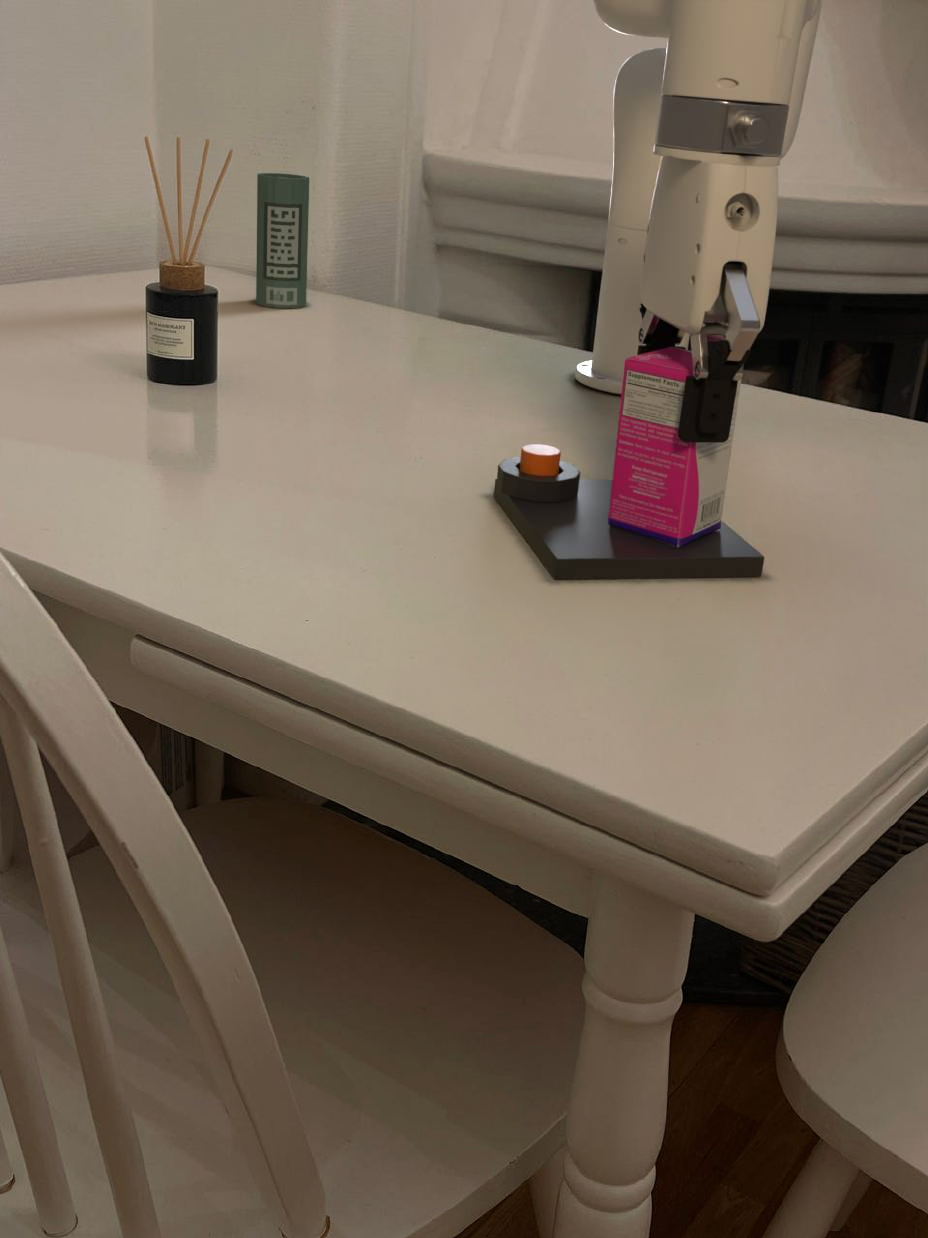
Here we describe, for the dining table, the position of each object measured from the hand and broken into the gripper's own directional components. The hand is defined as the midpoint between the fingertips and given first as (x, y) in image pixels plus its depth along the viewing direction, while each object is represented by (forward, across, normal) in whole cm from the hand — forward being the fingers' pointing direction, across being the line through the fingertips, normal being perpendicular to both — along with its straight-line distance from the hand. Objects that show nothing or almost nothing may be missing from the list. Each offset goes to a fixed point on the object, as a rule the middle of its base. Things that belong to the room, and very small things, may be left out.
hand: (677, 420), depth 82 cm
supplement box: (+8, 0, 0) cm, 8 cm away
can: (+9, +84, +18) cm, 87 cm away
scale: (+9, +2, +2) cm, 9 cm away
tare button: (+6, +8, +6) cm, 12 cm away
